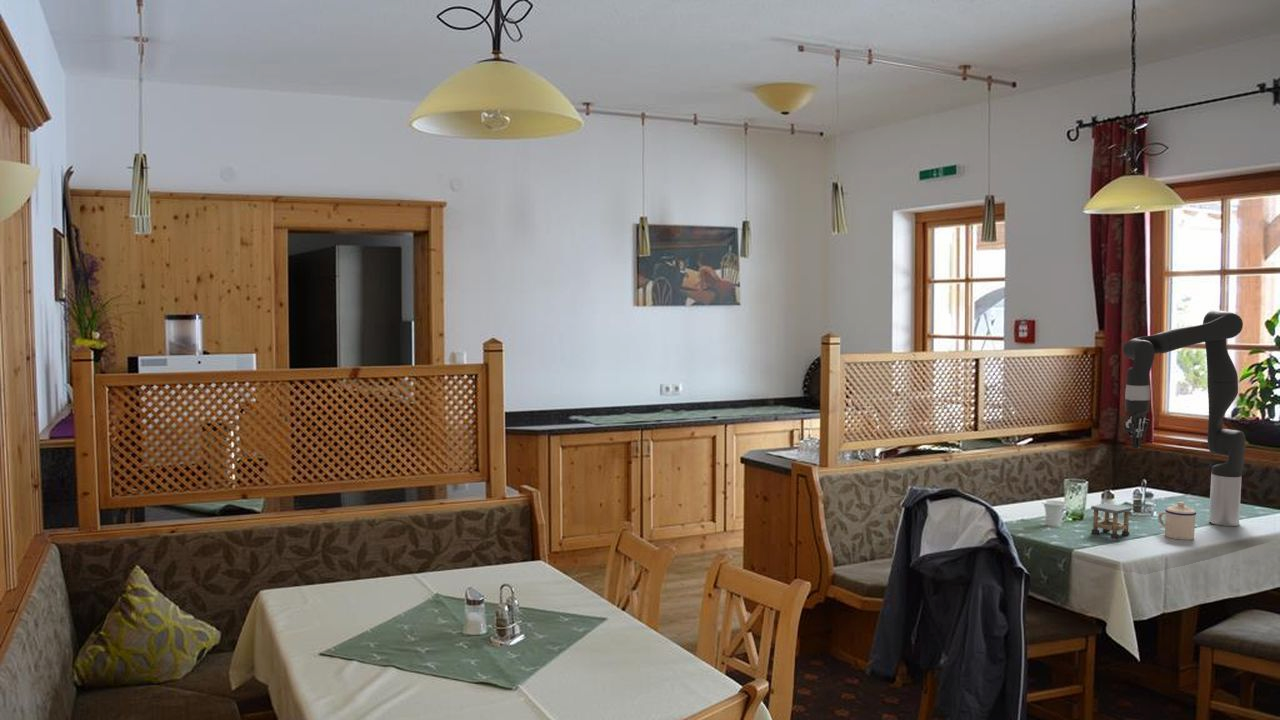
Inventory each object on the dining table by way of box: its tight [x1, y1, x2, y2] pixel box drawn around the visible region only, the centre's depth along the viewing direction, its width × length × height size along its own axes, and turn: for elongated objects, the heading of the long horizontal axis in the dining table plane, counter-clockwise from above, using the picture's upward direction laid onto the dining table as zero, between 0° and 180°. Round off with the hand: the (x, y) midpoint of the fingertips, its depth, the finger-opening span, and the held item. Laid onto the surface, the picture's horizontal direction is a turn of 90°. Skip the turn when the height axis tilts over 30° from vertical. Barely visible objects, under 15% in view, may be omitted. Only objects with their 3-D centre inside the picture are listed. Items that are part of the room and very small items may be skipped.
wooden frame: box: [1090, 502, 1133, 539], centre depth 342 cm, size 9×9×9 cm
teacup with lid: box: [1157, 501, 1197, 541], centre depth 340 cm, size 12×9×12 cm
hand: (1136, 448), depth 351 cm, fingers closed
